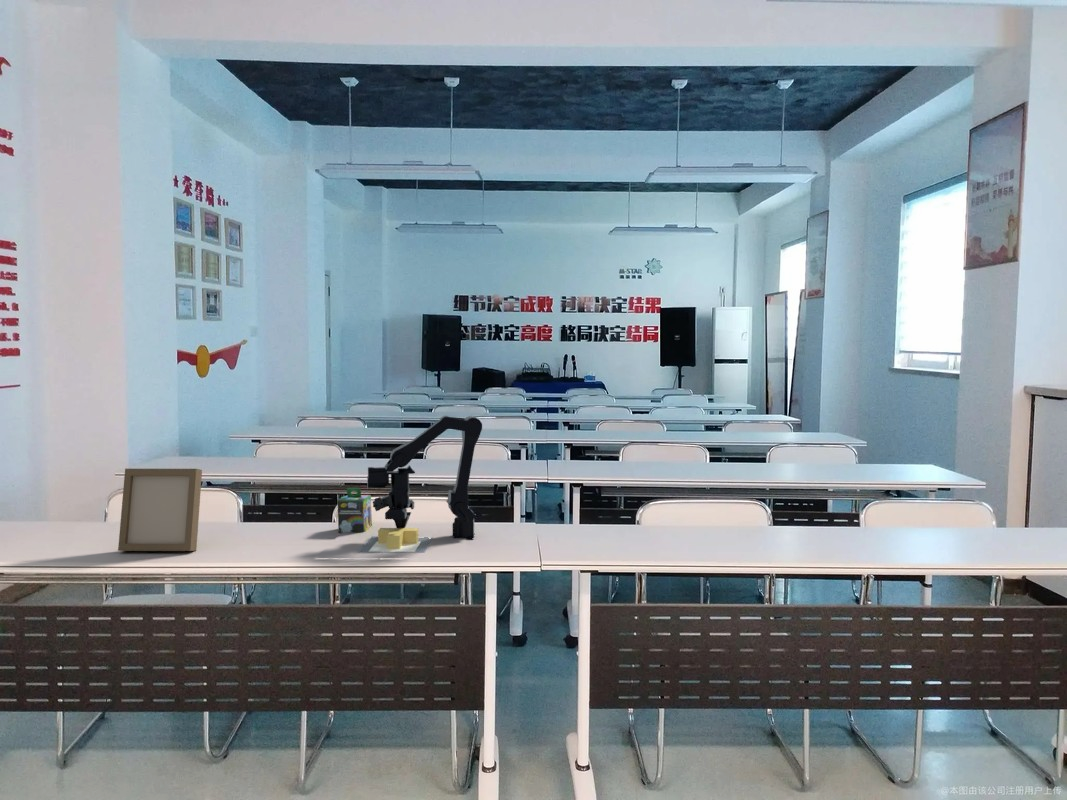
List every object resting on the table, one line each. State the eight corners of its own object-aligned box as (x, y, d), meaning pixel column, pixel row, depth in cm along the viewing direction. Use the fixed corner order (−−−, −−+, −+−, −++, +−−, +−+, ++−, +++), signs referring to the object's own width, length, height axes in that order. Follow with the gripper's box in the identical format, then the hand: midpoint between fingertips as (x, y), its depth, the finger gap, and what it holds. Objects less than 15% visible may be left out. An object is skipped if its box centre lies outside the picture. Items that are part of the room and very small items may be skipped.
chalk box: (372, 528, 280) (371, 485, 279) (364, 533, 271) (363, 489, 270) (346, 527, 281) (345, 484, 280) (337, 533, 271) (336, 489, 271)
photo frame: (190, 554, 244) (188, 471, 242) (118, 554, 244) (115, 471, 242) (210, 542, 258) (208, 464, 257) (142, 542, 259) (139, 464, 257)
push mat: (433, 537, 264) (433, 536, 264) (424, 554, 243) (424, 552, 243) (372, 537, 265) (372, 536, 265) (357, 553, 244) (357, 552, 244)
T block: (418, 540, 259) (418, 528, 259) (412, 548, 248) (412, 535, 248) (380, 540, 259) (380, 527, 259) (373, 548, 248) (373, 535, 248)
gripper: (380, 482, 269) (381, 529, 270) (368, 492, 250) (368, 542, 251) (414, 482, 269) (414, 529, 270) (404, 492, 250) (404, 542, 251)
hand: (400, 535), depth 261 cm, fingers closed
